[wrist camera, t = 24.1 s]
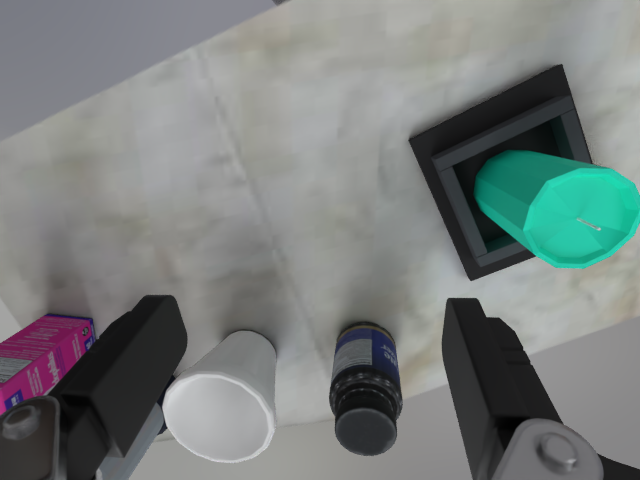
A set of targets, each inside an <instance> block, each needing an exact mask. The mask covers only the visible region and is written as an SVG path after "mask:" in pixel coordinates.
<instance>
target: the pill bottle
mask: <svg viewBox="0 0 640 480" xmlns="http://www.w3.org/2000/svg"><path fill="white" fill-rule="evenodd" d="M329 402H330V406H331V409H332V412H333V414H334V416H335V434H336V437H337V439H338V441H339V442H340V444H341V445H342V446H343V447H345V448H346V449H347V450H349V451H350V452H353V453H355V454H359V455H364V456H374V455H378V454H381V453H384V452H386V451H387V450H388V449H390V448H391V447H392V445H393V444H394V443H395V440H396V437H397V427H396V420H397V419H398V418H399V416H400V413H401V410H402V405H403V404H402V394H401V385H400V377H399V369H398V362H397V354H396V346H395V342H394V340H393V338H392V336H391V335H390V333H389V332H388V331H387V330H385V329H384V328H381V327H379V326H378V325H377V324H374V323H369V322H362V323H357V324H353V325H350V326H349V327H347V328H346V329H344V330H343V331H342V332H341V334H340V335H339V337H338V339H337V343H336V349H335V356H334V364H333V372H332V380H331V387H330V396H329Z"/></svg>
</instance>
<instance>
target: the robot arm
mask: <svg viewBox="0 0 640 480" xmlns="http://www.w3.org/2000/svg"><path fill="white" fill-rule="evenodd" d="M186 347H187V332H186V329H185V326H184V323H183V320H182V317H181V314H180V311H179V307H178V304H177V301H176V299H175V298H174V296H172V295H146V296H144V297H143V298H142V299H141V300H140V301H139V302H138V304H137V305H136V306H135V307H134V308H133V309H132V311H131V312H127V313H125V314H124V315H123V316H121V317H120V318H118V319H117V320H115V321H114V322H112V323H111V324H110V325H109V326H108V327H107V329H106V330H105V331H104V332H103V333H102V334H101V335H100V336H99V339H97V340H96V341H95V342H94V343H93V344H92V345H91V346H90V348H89V351H86V352H85V353H84V354H83V355H82V356H81V358H80V359H79V360H78V361H77V362H76V363H75V364H74V365H73V366H72V368H71V369H70V370H69V371H68V372H67V373H66V374H65V375H64V376H63V378H62V379H61V380H60V381H59V382H58V383H57V384H56V385H55V386H54V388H53V389H52V390H51V391H50V392H49V393H48V394H47V395H42V396H36V397H32V398H29V399H26V400H24V401H22V402H20V403H18V404H16V405H14V406H13V407H11V408H9V409H8V410H6V411H5V412H4V413H3V414H1V415H0V480H102V472H101V470H100V468H99V466H100V465H101V463H102V462H103V460H104V458H105V457H117V458H125V456H126V454H127V453H128V451H129V449H130V447H131V446H132V444H133V442H134V440H135V439H136V437H137V435H138V433H139V432H140V430H141V428H142V426H143V425H144V423H145V421H146V420H147V418H148V416H149V414H150V413H151V411H152V409H153V407H154V406H155V404H156V402H157V400H158V399H159V397H160V395H161V393H162V392H163V390H164V388H165V387H166V385H167V383H168V381H169V380H170V378H171V376H172V374H173V373H174V371H175V369H176V367H177V366H178V364H179V362H180V360H181V359H182V357H183V355H184V353H185V351H186ZM442 356H443V362H444V366H445V370H446V374H447V378H448V382H449V386H450V390H451V394H452V398H453V402H454V406H455V410H456V414H457V418H458V422H459V426H460V430H461V434H462V438H463V442H464V446H465V450H466V454H467V458H468V462H469V466H470V470H471V474H472V478H473V480H640V469H637V468H634V467H631V466H628V465H625V464H621V463H619V462H616V461H613V460H610V459H608V458H606V457H604V456H601V455H599V454H598V453H596V451H595V450H594V449H593V447H592V446H591V445H590V444H589V443H588V442H587V441H586V440H585V439H584V438H583V437H582V436H581V435H579V434H578V433H577V432H575V431H574V430H572V429H571V428H569V427H567V426H565V425H564V424H563V422H562V421H561V419H560V417H559V415H558V413H557V411H556V410H555V408H554V406H553V404H552V402H551V400H550V398H549V396H548V394H547V392H546V391H545V389H544V387H543V385H542V383H541V381H540V379H539V377H538V375H537V373H536V372H535V369H534V368H533V366H532V365H531V364H530V360H529V358H528V356H527V354H526V352H525V351H523V346H522V344H521V343H520V341H519V339H518V337H517V335H516V333H515V331H514V330H512V329H511V328H510V327H509V326H508V325H507V324H506V323H505V322H504V321H502V320H501V319H500V318H492V317H486V316H485V313H484V311H483V309H482V307H481V304H480V302H479V300H478V299H477V298H448V299H447V302H446V310H445V318H444V327H443V335H442Z"/></svg>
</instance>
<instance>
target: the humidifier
mask: <svg viewBox="0 0 640 480" xmlns="http://www.w3.org/2000/svg"><path fill="white" fill-rule="evenodd" d="M174 380H175V377H174V376H173V375H172V376H171V378H170V380H169V381H168V383H167V385H166V387H165V388H164V390H163V392H162V393H161V395H160V397H159V399H158V400H157V402H156V404H155V406H154V407H153V409H152V411H151V413H150V414H149V416H148V418H147V420H146V421H145V423H144V425H143V426H142V428H141V430H140V432H139V433H138V435H137V437H136V439H135V440H134V442H133V444H132V446H131V447H130V449H129V451H128V453H127V454H126V456H125V458H117V457H105V458H104V460H103V462H102V463H101V465H100V466H99V468H100V470H101V472H102V480H128V479H129V477H130V476H131V474H132V472H133V471H134V470H135V468H136V466H137V465H138V463H139V462H140V460H141V459H142V457H143V456H144V454H145V453H146V451H147V449H148V448H149V446H150V445H151V443H152V442H153V440H154V439H155V437H156V436H157V435H159V434H162V433H163V432H164V431H165V430H166V429H167V428H168V427H167V426H166V422H165V418H164V413H163V409H162V405H163V401H164V397H165V393H166V390H167V389H168V388H169V386H170V385H171V384H172V382H173V381H174Z"/></svg>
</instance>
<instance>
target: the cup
mask: <svg viewBox="0 0 640 480" xmlns="http://www.w3.org/2000/svg"><path fill="white" fill-rule="evenodd" d="M275 370H276V352H275V349H274V348H273V346H272V344H271V342H270V341H269V340H268V339H266V338H265V337H264V336H263V335H262V334H259V333H256V332H253V331H244V330H240V331H238V332H235V333H232V334H230V335H229V336H228V337H227V338H225V339H224V340H223V341H222V342H221V343H220V344H218V345H217V346H216V347H215V348H214V349H213V350H211V351H210V352H209V353H208V354H207V355H206V356H204V357H203V358H202V359H201V360H200V361H198V362H197V363H196V364H195V365H194V366H193V367H190V368H189V369H187V370H185V371H183V372H182V373H181V374H180V375H179V376H178V377H177V378H176V379H175V380H174V381H173V382H172V384H171V385H170V386H169V388H168V389H167V390H166V393H165V397H164V401H163V405H162V409H163V413H164V418H165V422H166V426H167V427H168V429H169V430H170V432H171V433H172V434H173V436H174V437H175V438H176V440H177V441H178V442H179V443H180V444H182V445H183V446H184V447H186V448H187V449H188V450H190V451H191V452H192V453H194V454H195V455H198V456H201V457H203V458H206V459H209V460H212V461H215V462H228V463H236V462H240V461H244V460H247V459H251V458H254V457H256V456H257V455H258V454H259V453H261V452H262V451H263V450H264V449H266V448H267V447H268V446H269V443H270V441H271V439H272V436H273V434H274V431H275V428H276V423H277V419H276V408H275V402H274V401H275Z"/></svg>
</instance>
